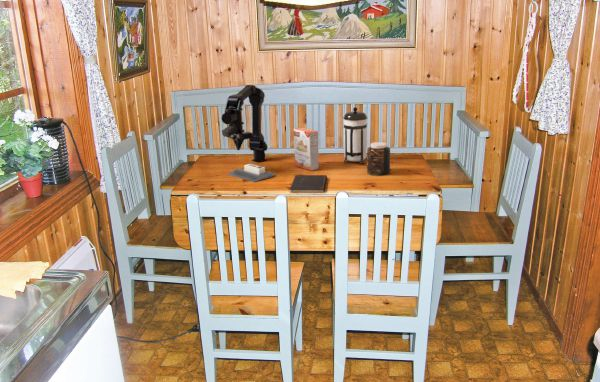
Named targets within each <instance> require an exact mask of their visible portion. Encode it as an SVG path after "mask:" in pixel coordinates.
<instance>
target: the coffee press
mask: <svg viewBox="0 0 600 382" xmlns="http://www.w3.org/2000/svg"><path fill="white" fill-rule="evenodd" d="M342 119H343V136H344V137H343V138H344V139H343V141H344V142H343V143H344V144H343V145H344V146H343V148H344V149H343V150H344V160H343V164H344V165H347V164H348V163H349V162H359V163H360V164H361V165H365V161H367V128H368V121H367V119H368V116H367V114H366V113H365V112H363V111H358V108H357V107H353V109H352V111H348V112H346V113H345V114H344V116H343V118H342Z"/></svg>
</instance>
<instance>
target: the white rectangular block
mask: <svg viewBox="0 0 600 382" xmlns="http://www.w3.org/2000/svg"><path fill="white" fill-rule="evenodd" d="M243 168H244V171H247V172H251V173H255V174H258V175H259V174H262V173H265V171H266V167H264V166H260V165H256V164H253V163H248V164H244V165H243Z"/></svg>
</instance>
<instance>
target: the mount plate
mask: <svg viewBox="0 0 600 382" xmlns="http://www.w3.org/2000/svg"><path fill="white" fill-rule="evenodd" d="M227 174H228V176H232V177H235V178H238V179H241V180H245V181H248V182H252V183H256V182H259V181H262V180H267V179H270V178H272V177H276V173H273V172H271V171H268V170H265V173H262V174H259V175H258V174H255V173H251V172H247V171H244V167H243V168H240V169H239V168H234V169H233V171H229V172H228V173H227Z"/></svg>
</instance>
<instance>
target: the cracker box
mask: <svg viewBox="0 0 600 382" xmlns="http://www.w3.org/2000/svg"><path fill="white" fill-rule="evenodd" d="M293 145H294V165H295V167H297V168H301V169H304V170H306V171H310V172H312V171H316V170H319V169H320V167H319V166H320V165H319V164H320V161H319V160H320V159H319V158H320V157H319V131H318V130H314V129H310V128H307V127H302V126H301V127H296V128H295V127H294V128H293Z"/></svg>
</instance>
